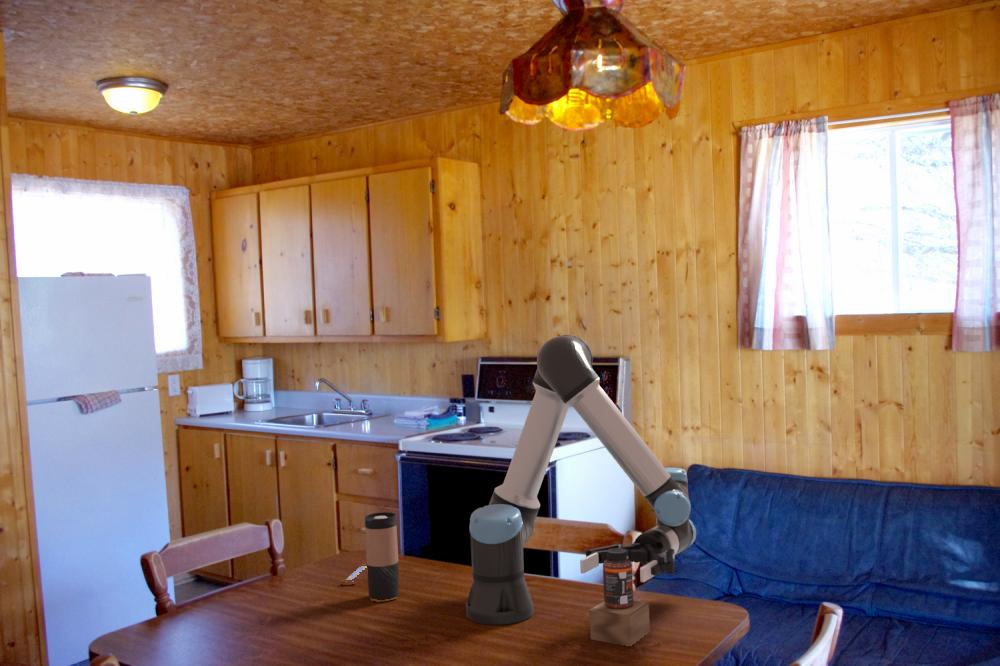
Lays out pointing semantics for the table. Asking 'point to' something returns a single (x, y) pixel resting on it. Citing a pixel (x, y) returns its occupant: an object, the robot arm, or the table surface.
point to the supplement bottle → (617, 579)
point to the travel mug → (382, 555)
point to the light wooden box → (619, 623)
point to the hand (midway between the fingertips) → (611, 571)
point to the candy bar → (356, 573)
